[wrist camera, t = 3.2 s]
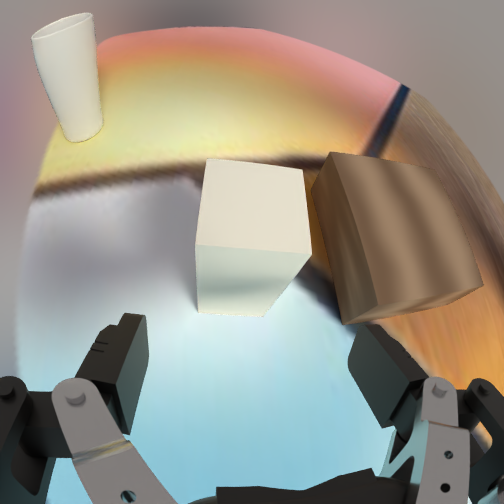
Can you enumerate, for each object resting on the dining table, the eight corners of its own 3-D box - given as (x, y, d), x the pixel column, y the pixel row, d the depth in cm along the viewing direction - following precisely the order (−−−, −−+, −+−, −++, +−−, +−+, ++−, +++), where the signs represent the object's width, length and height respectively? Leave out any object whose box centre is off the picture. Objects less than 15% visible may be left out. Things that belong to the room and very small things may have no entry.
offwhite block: (262, 259, 24) (302, 169, 15) (262, 316, 22) (311, 254, 12) (203, 254, 24) (207, 158, 14) (198, 312, 21) (195, 244, 12)
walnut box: (408, 199, 32) (434, 169, 27) (445, 305, 26) (483, 285, 20) (309, 191, 29) (329, 151, 24) (340, 325, 23) (378, 305, 18)
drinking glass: (88, 109, 30) (71, 13, 17) (120, 121, 30) (106, 11, 16) (51, 139, 27) (20, 39, 14) (80, 155, 26) (47, 38, 13)
